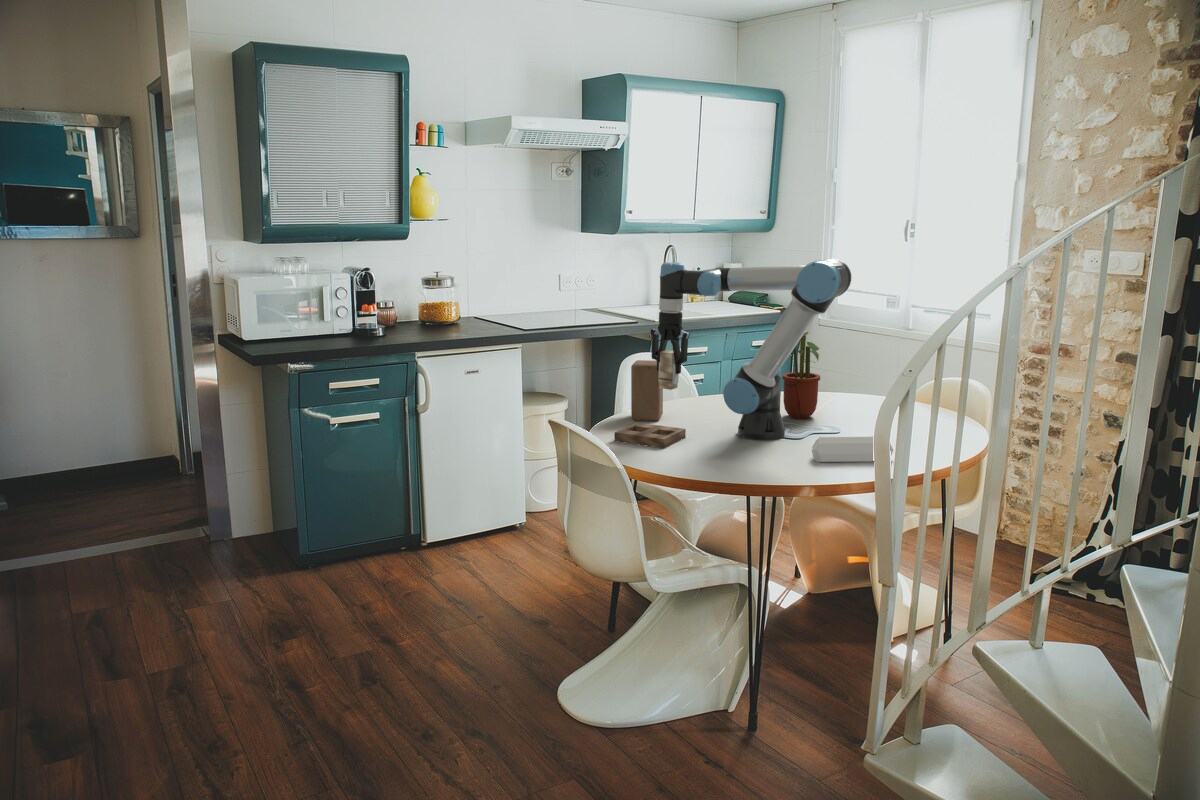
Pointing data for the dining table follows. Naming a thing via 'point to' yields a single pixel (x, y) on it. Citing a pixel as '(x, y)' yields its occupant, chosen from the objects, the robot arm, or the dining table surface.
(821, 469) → the dining table surface
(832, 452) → the crystal
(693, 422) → the dining table surface
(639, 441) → the walnut board
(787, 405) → the potted plant
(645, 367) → the wooden block
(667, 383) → the beech peg
